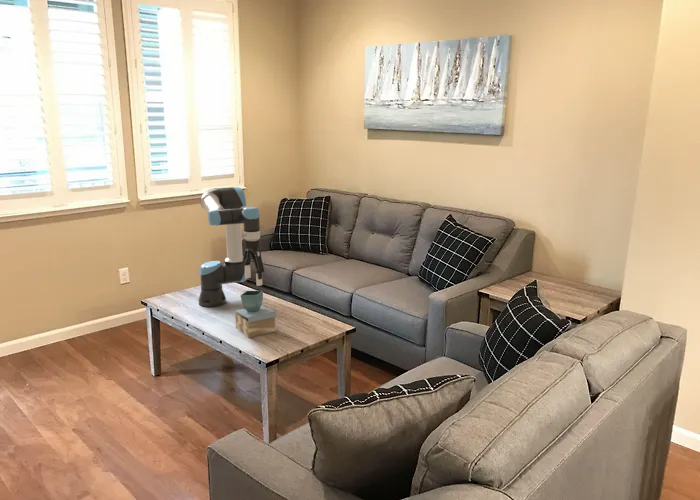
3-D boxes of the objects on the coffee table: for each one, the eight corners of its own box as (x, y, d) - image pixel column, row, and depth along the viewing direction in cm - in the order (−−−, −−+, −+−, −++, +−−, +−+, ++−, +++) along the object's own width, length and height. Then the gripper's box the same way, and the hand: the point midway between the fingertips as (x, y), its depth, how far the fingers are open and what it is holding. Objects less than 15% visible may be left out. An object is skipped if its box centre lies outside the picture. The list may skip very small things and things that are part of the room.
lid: (235, 315, 281) (234, 310, 281) (261, 309, 289) (261, 305, 289) (248, 322, 267) (248, 317, 267) (276, 316, 275) (275, 311, 274)
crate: (236, 327, 283) (235, 312, 281) (261, 321, 291) (261, 307, 289) (248, 338, 270) (248, 322, 268) (275, 332, 278) (274, 316, 276)
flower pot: (258, 312, 274) (256, 295, 273) (241, 312, 276) (239, 295, 275) (264, 307, 283) (263, 290, 281) (248, 307, 285) (246, 290, 283)
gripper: (234, 235, 277) (236, 276, 283) (255, 245, 257) (257, 289, 262) (248, 233, 281) (250, 273, 287) (270, 243, 261) (271, 287, 266)
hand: (253, 281), depth 274 cm, fingers open, 13 cm apart
